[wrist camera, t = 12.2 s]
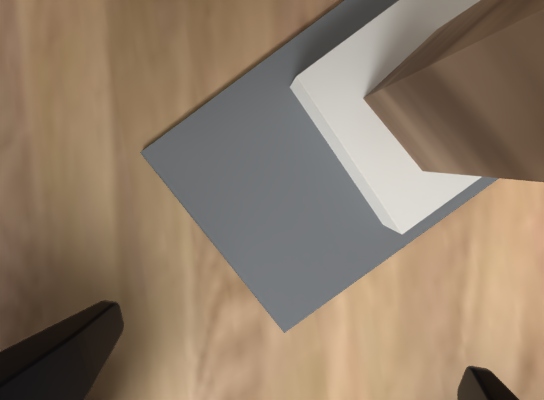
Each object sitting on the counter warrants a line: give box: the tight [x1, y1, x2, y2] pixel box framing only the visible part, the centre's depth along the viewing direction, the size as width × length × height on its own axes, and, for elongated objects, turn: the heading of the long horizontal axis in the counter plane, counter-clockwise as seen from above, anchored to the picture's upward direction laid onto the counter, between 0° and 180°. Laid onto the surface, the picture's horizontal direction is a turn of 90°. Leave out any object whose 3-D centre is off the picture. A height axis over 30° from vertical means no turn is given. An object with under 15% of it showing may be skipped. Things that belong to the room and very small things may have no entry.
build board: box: [140, 0, 499, 333], centre depth 17 cm, size 20×14×3 cm
